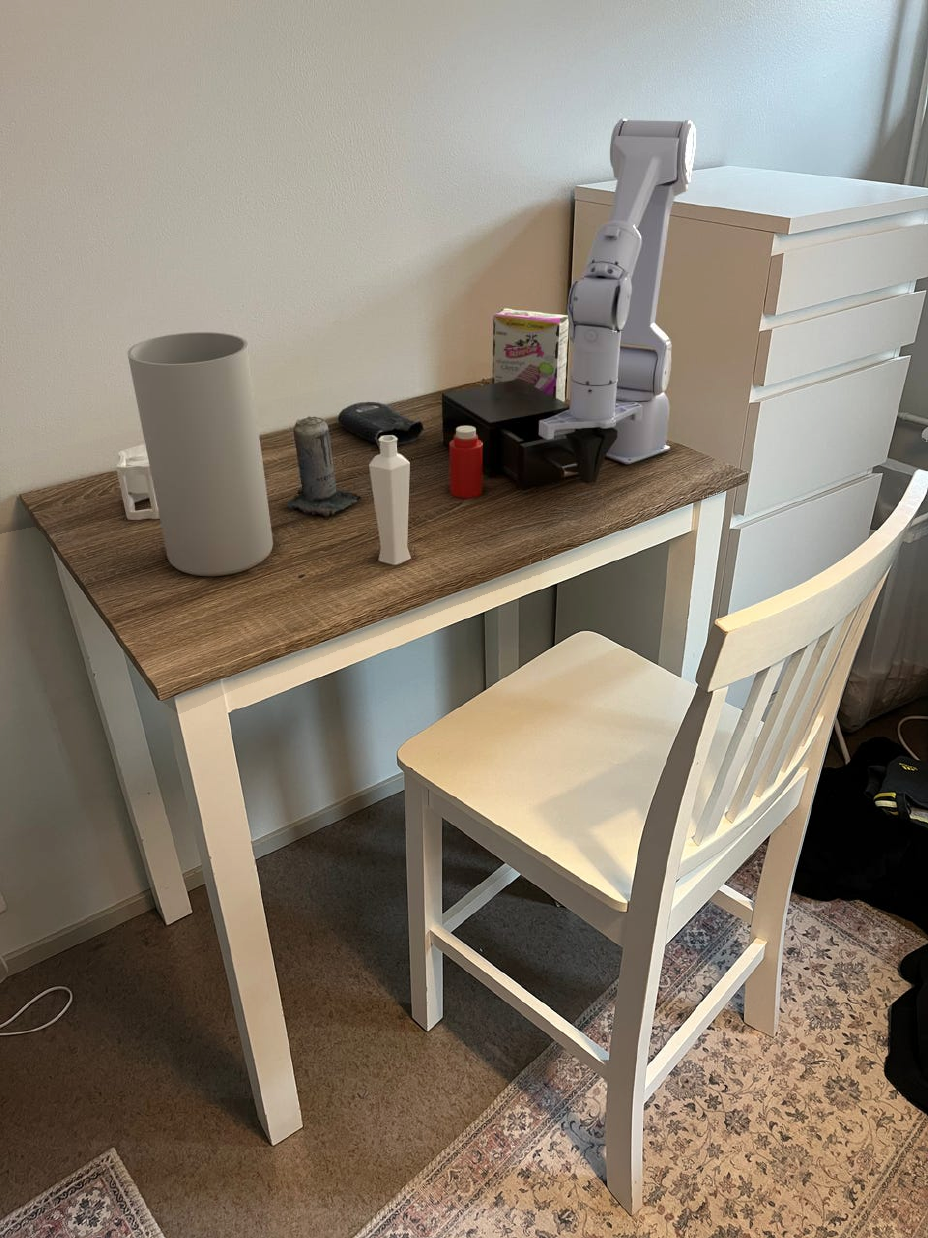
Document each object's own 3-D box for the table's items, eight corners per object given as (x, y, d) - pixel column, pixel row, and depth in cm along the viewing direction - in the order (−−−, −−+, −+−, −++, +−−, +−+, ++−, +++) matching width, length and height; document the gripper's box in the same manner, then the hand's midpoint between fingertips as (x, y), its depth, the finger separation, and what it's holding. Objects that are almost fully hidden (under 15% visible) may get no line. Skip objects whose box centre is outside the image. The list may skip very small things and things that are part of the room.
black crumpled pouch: (428, 445, 149) (378, 407, 158) (426, 414, 145) (374, 377, 154) (378, 466, 145) (329, 426, 154) (374, 435, 141) (324, 395, 150)
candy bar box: (490, 416, 156) (491, 314, 147) (502, 406, 160) (503, 307, 151) (555, 425, 152) (559, 321, 143) (565, 415, 156) (570, 313, 147)
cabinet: (569, 459, 140) (572, 406, 135) (489, 477, 134) (489, 422, 130) (518, 428, 151) (519, 378, 146) (442, 444, 145) (441, 392, 141)
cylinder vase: (279, 570, 111) (252, 358, 98) (169, 586, 108) (127, 369, 95) (267, 525, 122) (241, 328, 108) (166, 538, 119) (127, 337, 106)
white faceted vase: (408, 567, 112) (403, 447, 104) (373, 564, 112) (364, 444, 105) (418, 550, 116) (413, 432, 108) (383, 547, 116) (376, 430, 108)
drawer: (618, 485, 129) (622, 441, 126) (541, 503, 124) (543, 458, 121) (546, 442, 143) (548, 401, 140) (474, 457, 138) (474, 416, 135)
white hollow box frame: (246, 464, 139) (239, 416, 135) (277, 490, 131) (270, 439, 127) (108, 496, 130) (97, 445, 126) (132, 526, 122) (121, 472, 118)
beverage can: (281, 512, 125) (270, 425, 119) (308, 490, 131) (300, 406, 125) (343, 522, 122) (335, 433, 116) (368, 499, 128) (362, 413, 122)
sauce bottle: (468, 482, 133) (468, 420, 128) (488, 492, 130) (489, 429, 125) (443, 490, 131) (442, 428, 126) (463, 500, 128) (463, 437, 123)
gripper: (562, 397, 112) (557, 502, 119) (661, 378, 117) (650, 480, 125) (531, 381, 117) (528, 483, 124) (626, 363, 123) (618, 462, 130)
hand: (587, 480), depth 125 cm, fingers closed, pressing on drawer
